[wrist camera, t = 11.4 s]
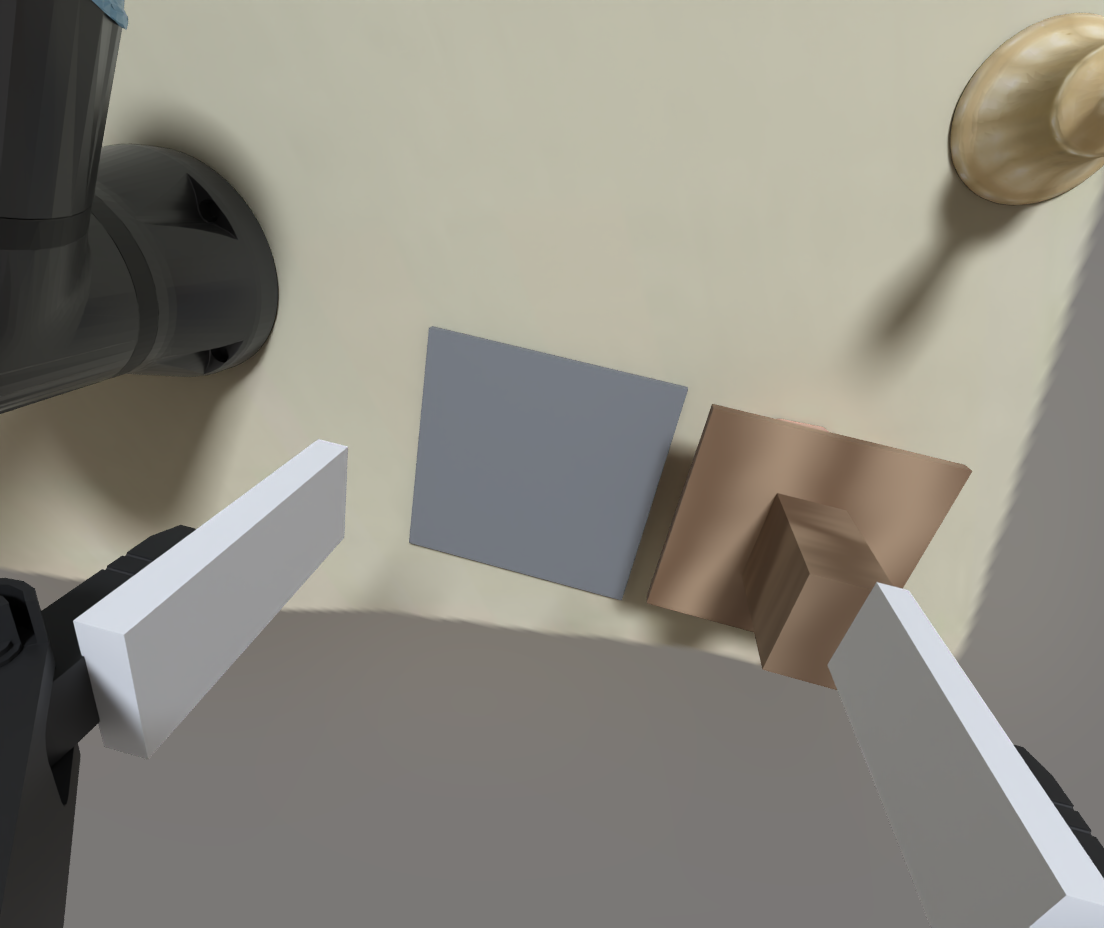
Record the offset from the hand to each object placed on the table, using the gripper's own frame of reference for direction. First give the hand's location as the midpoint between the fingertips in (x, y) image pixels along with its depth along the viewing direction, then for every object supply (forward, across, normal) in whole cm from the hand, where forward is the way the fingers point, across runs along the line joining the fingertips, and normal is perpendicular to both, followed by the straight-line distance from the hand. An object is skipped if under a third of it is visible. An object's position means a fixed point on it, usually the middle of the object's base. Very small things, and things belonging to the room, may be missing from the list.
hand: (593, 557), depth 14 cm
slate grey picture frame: (+26, -4, -12) cm, 28 cm away
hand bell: (+25, +18, +16) cm, 35 cm away
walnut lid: (+19, +13, -8) cm, 24 cm away
